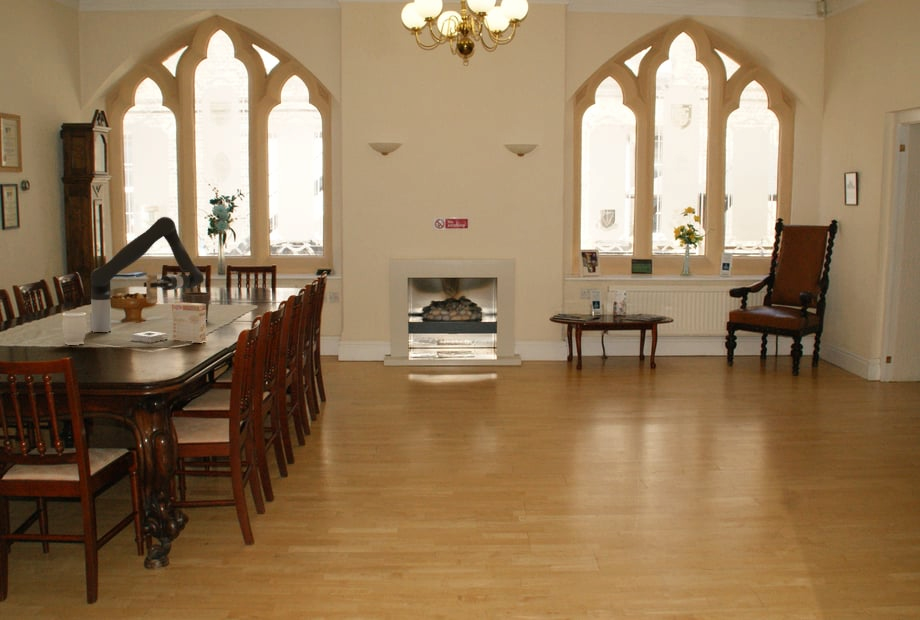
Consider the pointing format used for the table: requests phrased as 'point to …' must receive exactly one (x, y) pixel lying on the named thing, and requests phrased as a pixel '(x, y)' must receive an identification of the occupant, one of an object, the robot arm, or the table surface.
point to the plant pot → (197, 299)
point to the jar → (74, 327)
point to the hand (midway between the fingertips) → (147, 285)
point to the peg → (151, 292)
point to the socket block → (149, 336)
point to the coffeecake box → (189, 322)
